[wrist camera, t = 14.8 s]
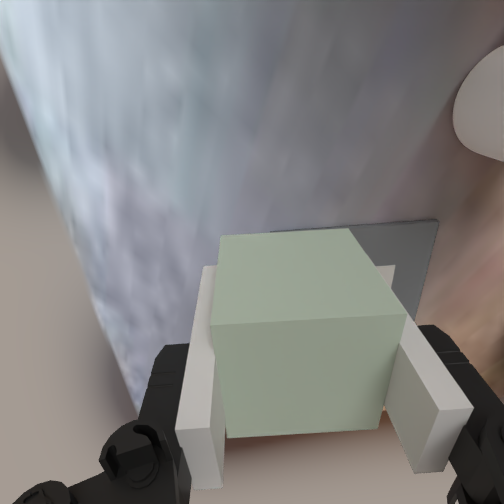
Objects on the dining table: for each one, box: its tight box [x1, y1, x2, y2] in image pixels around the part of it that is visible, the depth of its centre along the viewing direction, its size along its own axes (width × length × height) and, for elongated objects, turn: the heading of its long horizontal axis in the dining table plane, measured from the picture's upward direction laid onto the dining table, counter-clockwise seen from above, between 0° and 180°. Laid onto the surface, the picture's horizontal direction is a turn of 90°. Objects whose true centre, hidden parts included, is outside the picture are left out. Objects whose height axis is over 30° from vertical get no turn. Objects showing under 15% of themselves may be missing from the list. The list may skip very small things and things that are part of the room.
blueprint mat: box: [270, 219, 439, 321], centre depth 34 cm, size 18×16×1 cm
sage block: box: [210, 228, 407, 438], centre depth 11 cm, size 5×5×5 cm
